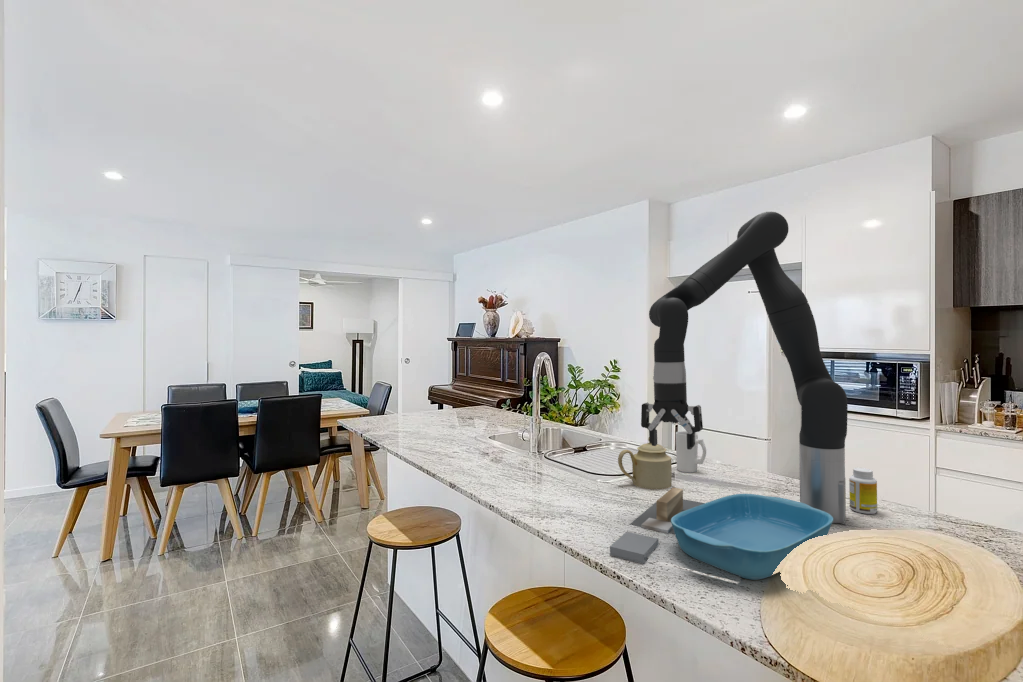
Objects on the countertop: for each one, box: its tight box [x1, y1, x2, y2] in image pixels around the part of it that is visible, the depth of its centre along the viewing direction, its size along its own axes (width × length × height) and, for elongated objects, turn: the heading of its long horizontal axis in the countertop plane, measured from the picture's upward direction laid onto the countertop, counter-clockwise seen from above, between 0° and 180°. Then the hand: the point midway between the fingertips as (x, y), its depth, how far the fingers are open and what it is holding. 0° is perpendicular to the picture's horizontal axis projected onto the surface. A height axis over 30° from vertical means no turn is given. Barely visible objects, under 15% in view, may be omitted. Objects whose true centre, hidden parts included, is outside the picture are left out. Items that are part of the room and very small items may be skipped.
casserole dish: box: [671, 493, 833, 581], centre depth 101 cm, size 37×22×7 cm, turn 127°
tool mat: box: [629, 498, 706, 536], centre depth 120 cm, size 12×24×1 cm, turn 144°
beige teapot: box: [617, 437, 673, 491], centre depth 143 cm, size 15×11×15 cm
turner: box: [640, 487, 684, 534], centre depth 117 cm, size 6×17×5 cm, turn 144°
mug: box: [675, 430, 707, 474], centre depth 158 cm, size 10×7×12 cm, turn 39°
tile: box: [609, 531, 660, 565], centre depth 101 cm, size 7×2×9 cm
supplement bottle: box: [848, 467, 878, 515], centre depth 121 cm, size 6×6×10 cm
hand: (671, 447), depth 120 cm, fingers open, 8 cm apart
